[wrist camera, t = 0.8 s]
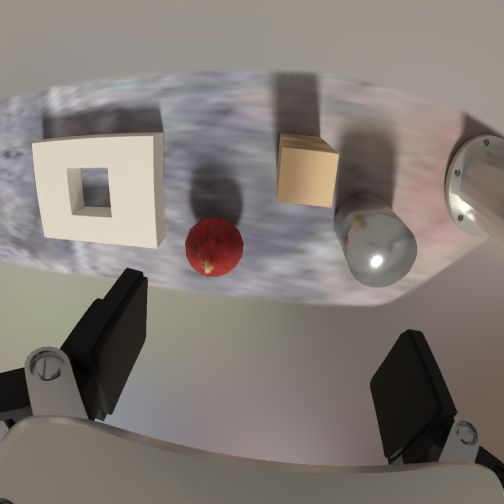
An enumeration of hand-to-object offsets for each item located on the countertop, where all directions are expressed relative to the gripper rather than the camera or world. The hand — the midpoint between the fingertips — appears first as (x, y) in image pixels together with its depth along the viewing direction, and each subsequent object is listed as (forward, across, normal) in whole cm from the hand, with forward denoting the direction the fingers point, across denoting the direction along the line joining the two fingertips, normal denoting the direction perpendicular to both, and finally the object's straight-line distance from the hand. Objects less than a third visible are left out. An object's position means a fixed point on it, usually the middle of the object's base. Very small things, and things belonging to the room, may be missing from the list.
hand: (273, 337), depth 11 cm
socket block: (+24, +19, +5) cm, 31 cm away
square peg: (+24, -2, -2) cm, 24 cm away
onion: (+24, +4, +8) cm, 26 cm away
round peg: (+24, -11, +3) cm, 26 cm away
